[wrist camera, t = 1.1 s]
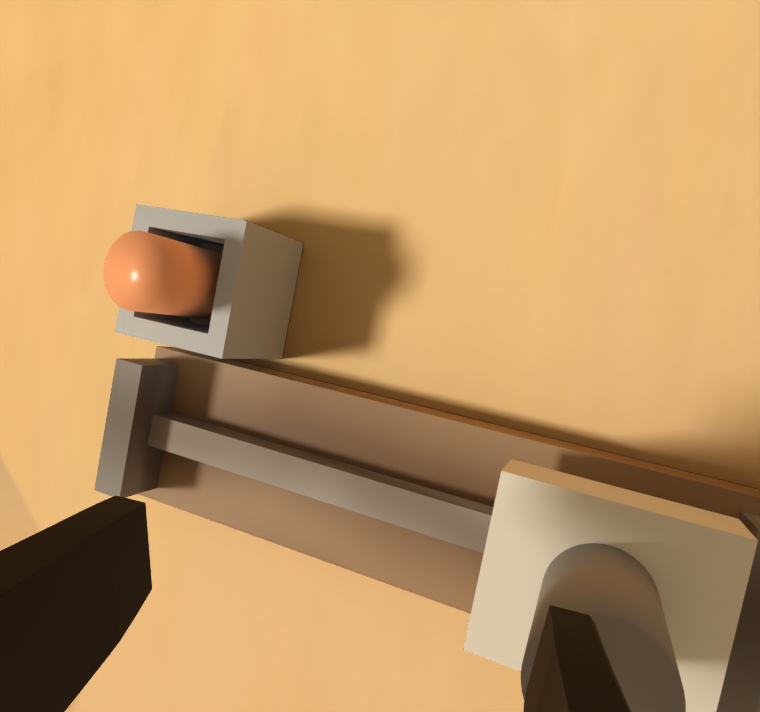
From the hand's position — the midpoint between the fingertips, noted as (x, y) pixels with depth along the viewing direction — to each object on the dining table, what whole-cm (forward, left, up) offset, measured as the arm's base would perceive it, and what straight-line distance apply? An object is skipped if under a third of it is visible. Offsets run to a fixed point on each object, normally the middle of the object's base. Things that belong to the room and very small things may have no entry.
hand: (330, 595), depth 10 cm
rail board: (-1, +2, -11) cm, 12 cm away
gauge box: (+5, +10, -11) cm, 16 cm away
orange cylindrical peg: (+5, +10, -9) cm, 14 cm away
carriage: (-1, -5, -9) cm, 10 cm away
